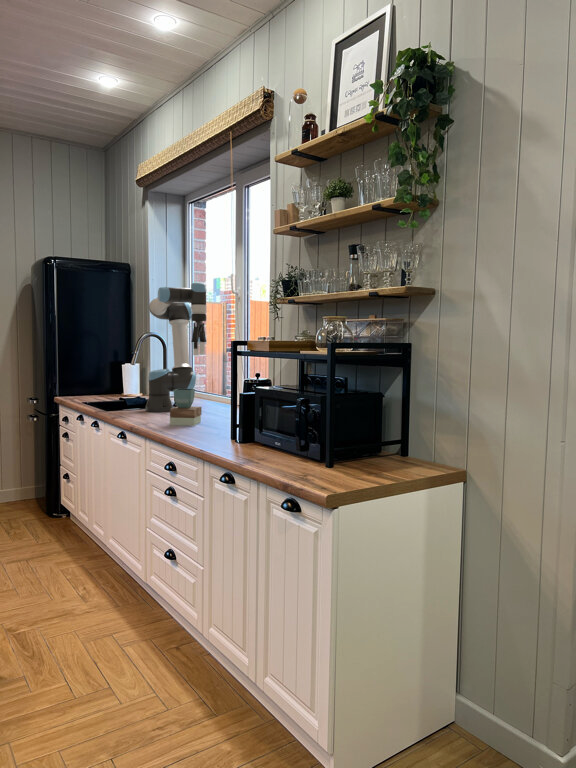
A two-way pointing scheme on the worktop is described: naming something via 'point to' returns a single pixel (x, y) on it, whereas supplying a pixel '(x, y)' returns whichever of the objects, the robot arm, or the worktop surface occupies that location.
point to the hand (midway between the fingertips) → (199, 355)
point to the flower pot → (184, 397)
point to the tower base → (185, 421)
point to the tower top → (185, 412)
